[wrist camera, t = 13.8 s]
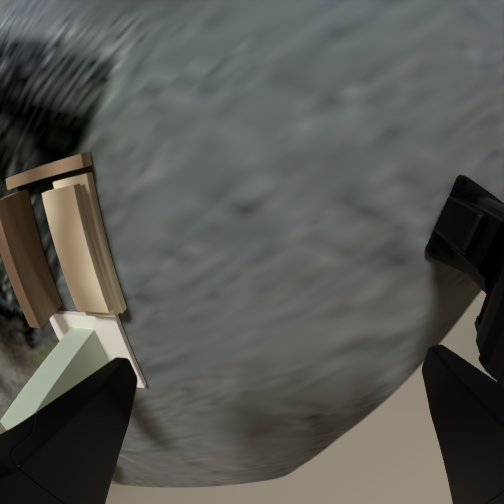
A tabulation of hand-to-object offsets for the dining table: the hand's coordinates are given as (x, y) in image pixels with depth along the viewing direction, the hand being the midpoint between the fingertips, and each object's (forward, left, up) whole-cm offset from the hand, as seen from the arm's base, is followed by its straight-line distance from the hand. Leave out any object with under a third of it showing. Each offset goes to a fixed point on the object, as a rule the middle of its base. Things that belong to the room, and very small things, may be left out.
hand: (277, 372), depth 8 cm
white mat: (+13, +18, -13) cm, 26 cm away
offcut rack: (+16, +7, -13) cm, 22 cm away
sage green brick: (+13, +18, -12) cm, 25 cm away
